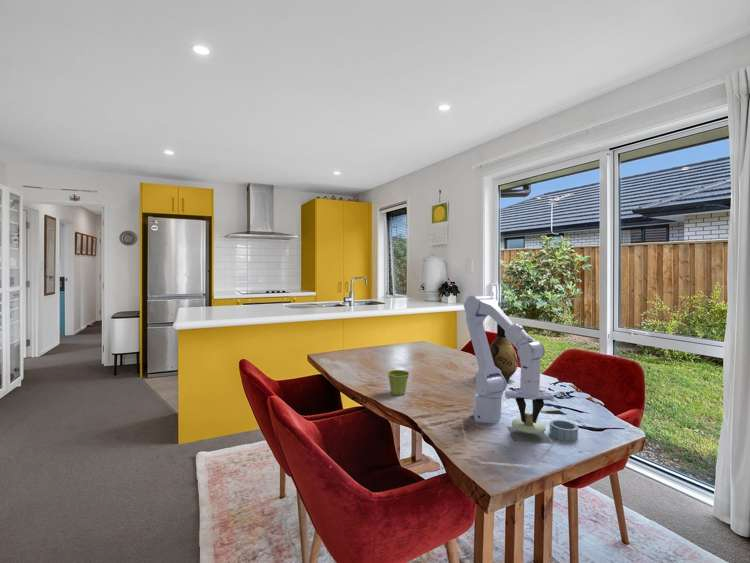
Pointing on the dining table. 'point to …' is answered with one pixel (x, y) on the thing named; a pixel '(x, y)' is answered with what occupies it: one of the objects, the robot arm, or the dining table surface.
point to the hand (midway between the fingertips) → (528, 421)
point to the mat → (528, 436)
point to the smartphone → (556, 411)
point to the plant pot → (398, 381)
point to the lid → (528, 424)
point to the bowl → (563, 430)
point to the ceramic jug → (503, 354)
